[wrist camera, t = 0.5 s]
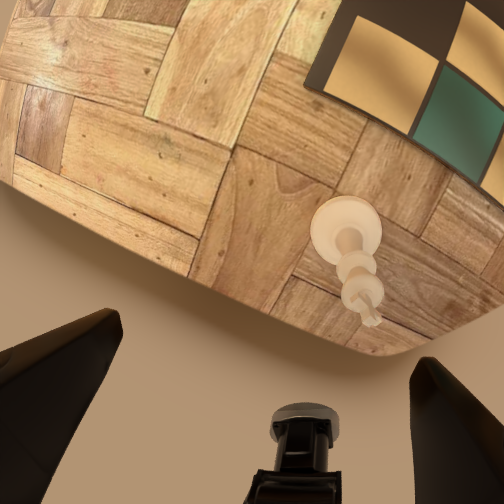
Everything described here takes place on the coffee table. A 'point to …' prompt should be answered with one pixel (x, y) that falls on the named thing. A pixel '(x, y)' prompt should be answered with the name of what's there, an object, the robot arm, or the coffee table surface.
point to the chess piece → (351, 251)
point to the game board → (424, 78)
